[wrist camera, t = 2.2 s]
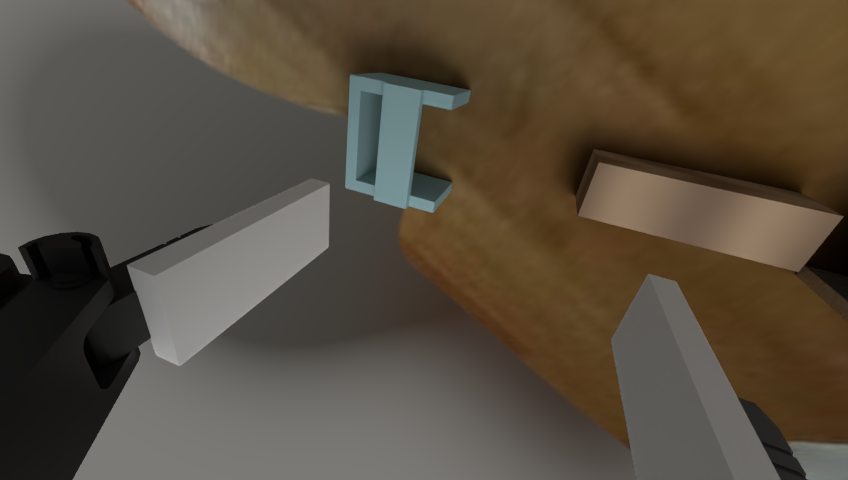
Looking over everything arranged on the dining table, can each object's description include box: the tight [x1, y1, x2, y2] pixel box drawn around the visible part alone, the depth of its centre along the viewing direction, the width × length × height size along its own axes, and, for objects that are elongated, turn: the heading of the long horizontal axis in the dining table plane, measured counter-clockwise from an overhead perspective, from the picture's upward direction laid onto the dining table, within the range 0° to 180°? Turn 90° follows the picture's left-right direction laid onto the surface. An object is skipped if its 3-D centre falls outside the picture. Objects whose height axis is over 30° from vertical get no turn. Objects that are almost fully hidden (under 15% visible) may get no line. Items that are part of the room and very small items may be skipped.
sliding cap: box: [345, 73, 471, 213], centre depth 25 cm, size 7×8×5 cm
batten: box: [576, 149, 844, 272], centre depth 22 cm, size 12×4×4 cm, turn 82°
